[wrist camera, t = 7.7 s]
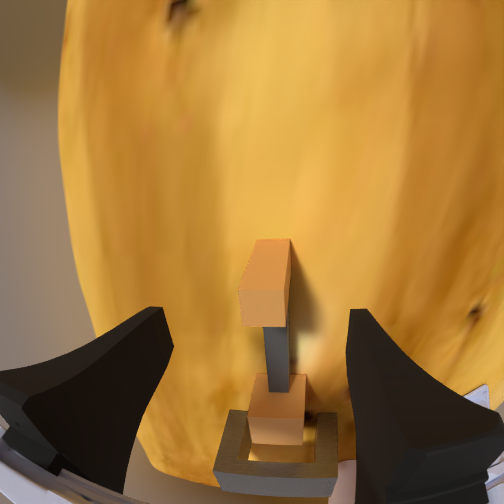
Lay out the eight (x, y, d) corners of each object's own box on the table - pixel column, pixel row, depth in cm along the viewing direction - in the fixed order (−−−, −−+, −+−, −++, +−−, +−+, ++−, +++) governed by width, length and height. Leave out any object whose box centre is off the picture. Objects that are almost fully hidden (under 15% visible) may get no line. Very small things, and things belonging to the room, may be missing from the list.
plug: (304, 404, 24) (301, 460, 19) (260, 402, 25) (249, 457, 20) (306, 238, 18) (307, 289, 13) (240, 240, 19) (215, 289, 14)
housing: (331, 439, 26) (330, 496, 20) (236, 435, 28) (222, 490, 22) (336, 412, 24) (337, 477, 18) (229, 409, 26) (212, 470, 20)
